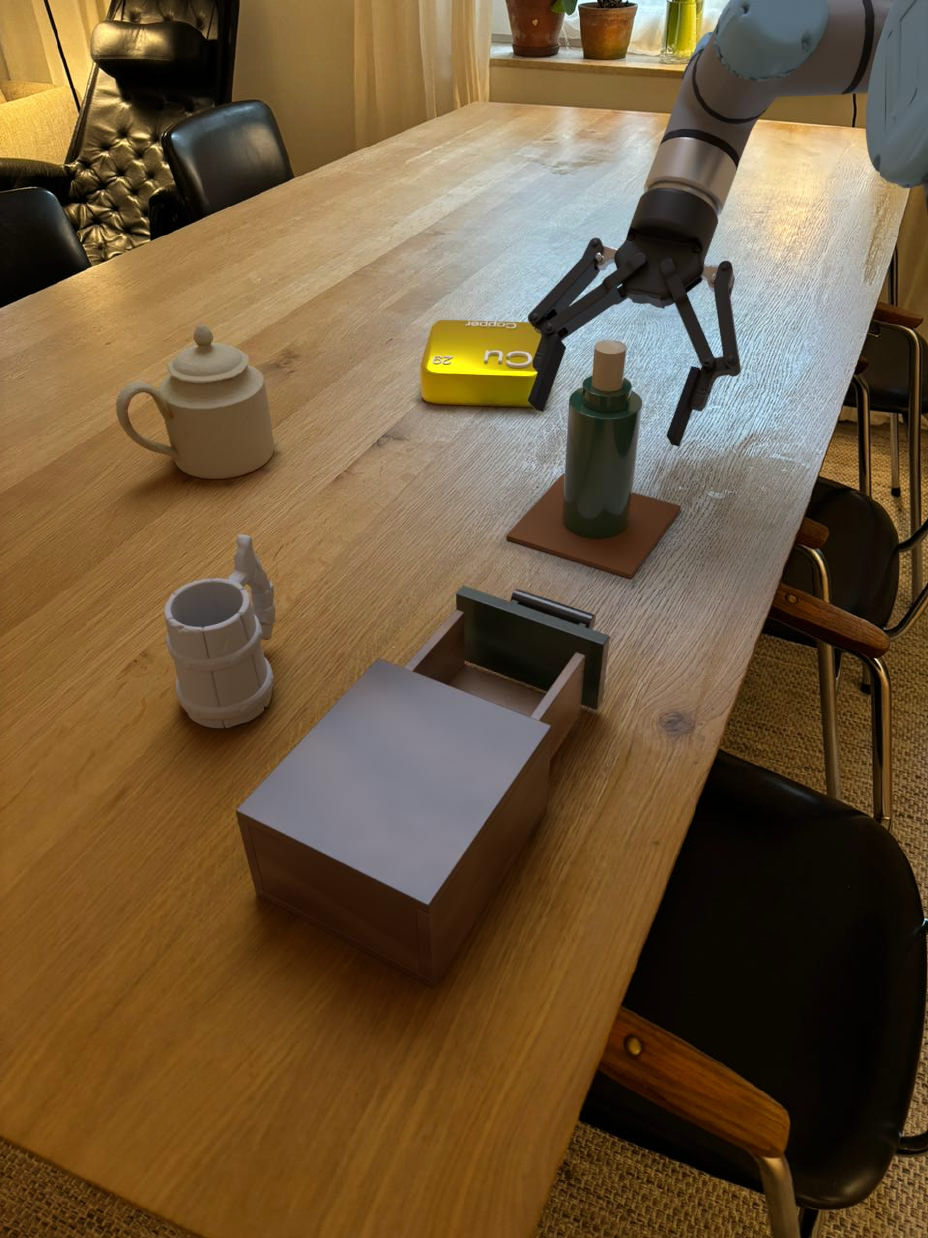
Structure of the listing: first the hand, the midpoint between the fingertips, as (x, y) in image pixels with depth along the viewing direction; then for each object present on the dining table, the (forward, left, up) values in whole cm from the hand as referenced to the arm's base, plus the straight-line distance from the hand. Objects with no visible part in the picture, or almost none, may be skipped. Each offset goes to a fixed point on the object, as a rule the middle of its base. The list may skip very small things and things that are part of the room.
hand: (601, 423), depth 91 cm
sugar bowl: (+39, +16, -12) cm, 44 cm away
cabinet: (-12, +41, -11) cm, 44 cm away
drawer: (-9, +27, -11) cm, 30 cm away
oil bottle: (0, -1, -11) cm, 11 cm away
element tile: (+28, -18, -12) cm, 36 cm away
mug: (+10, +37, -12) cm, 40 cm away
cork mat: (0, 0, -11) cm, 11 cm away
